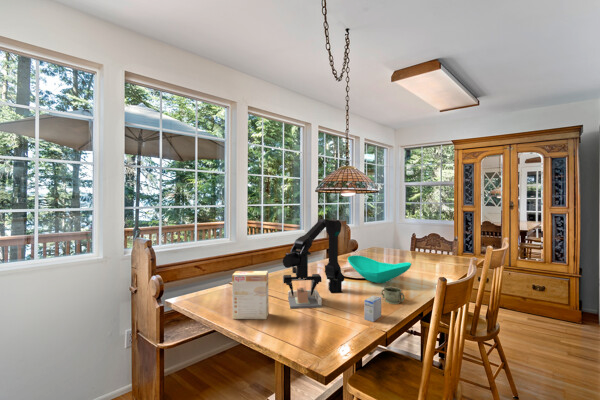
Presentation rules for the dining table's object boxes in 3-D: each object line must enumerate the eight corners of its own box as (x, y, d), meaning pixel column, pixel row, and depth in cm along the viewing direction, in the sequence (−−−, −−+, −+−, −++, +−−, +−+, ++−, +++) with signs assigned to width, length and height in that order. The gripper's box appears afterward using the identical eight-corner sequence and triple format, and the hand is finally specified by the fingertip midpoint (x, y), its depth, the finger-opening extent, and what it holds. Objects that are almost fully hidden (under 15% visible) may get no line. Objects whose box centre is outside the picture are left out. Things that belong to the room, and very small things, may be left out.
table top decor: (338, 281, 191) (338, 259, 191) (359, 272, 213) (359, 252, 212) (402, 293, 167) (402, 269, 166) (418, 282, 188) (418, 260, 188)
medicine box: (372, 314, 139) (372, 295, 139) (381, 316, 136) (381, 297, 136) (364, 319, 133) (364, 299, 133) (373, 322, 130) (373, 302, 130)
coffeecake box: (268, 313, 140) (268, 270, 140) (266, 319, 133) (266, 274, 133) (236, 312, 141) (235, 270, 140) (232, 319, 134) (231, 274, 133)
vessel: (377, 301, 156) (377, 288, 155) (384, 296, 163) (384, 284, 162) (401, 306, 148) (401, 293, 148) (407, 301, 155) (407, 289, 155)
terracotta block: (307, 302, 150) (307, 292, 150) (298, 303, 150) (298, 292, 150) (305, 297, 158) (305, 287, 158) (296, 297, 158) (296, 287, 158)
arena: (316, 297, 161) (316, 289, 161) (321, 307, 147) (321, 298, 147) (288, 298, 160) (288, 290, 160) (290, 308, 146) (290, 300, 146)
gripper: (317, 260, 163) (317, 289, 163) (282, 261, 160) (282, 291, 161) (321, 265, 151) (321, 297, 152) (283, 266, 149) (283, 298, 150)
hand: (302, 295), depth 154 cm, fingers open, 9 cm apart
